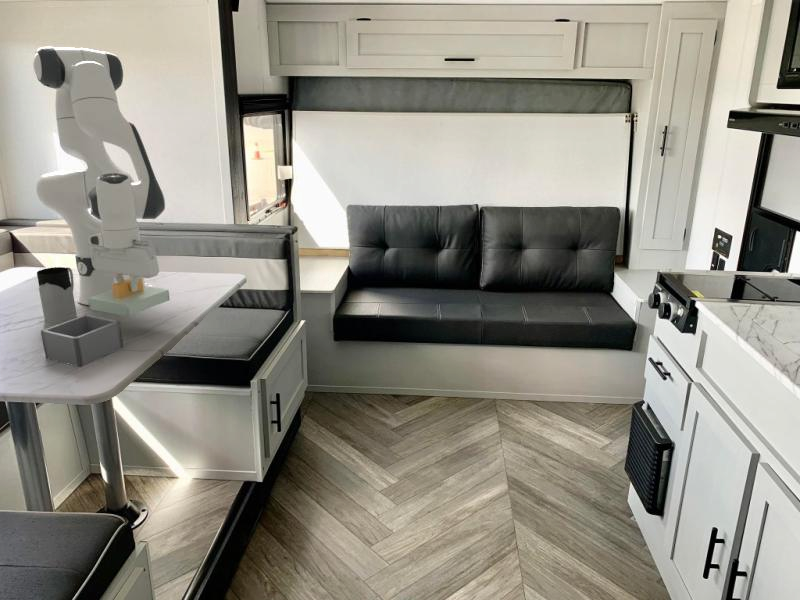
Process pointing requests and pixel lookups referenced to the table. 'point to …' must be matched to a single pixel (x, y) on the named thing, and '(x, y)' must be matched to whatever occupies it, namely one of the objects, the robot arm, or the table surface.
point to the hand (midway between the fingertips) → (128, 289)
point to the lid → (128, 299)
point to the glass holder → (56, 295)
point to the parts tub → (82, 339)
